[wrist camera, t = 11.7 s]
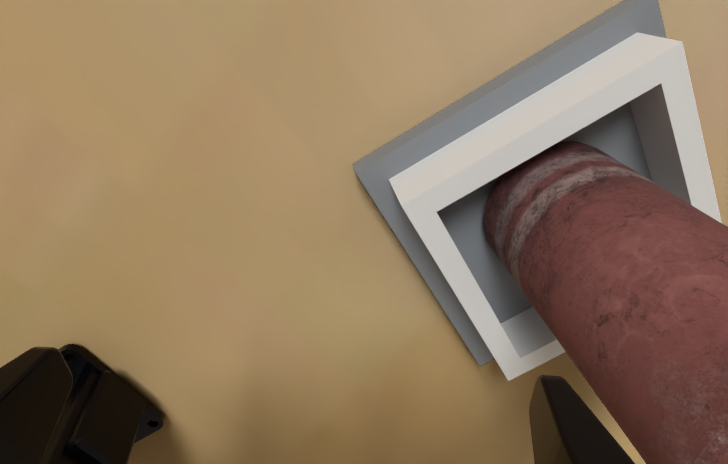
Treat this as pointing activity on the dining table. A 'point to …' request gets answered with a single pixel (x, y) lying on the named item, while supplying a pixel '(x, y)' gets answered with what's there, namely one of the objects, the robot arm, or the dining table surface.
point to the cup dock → (523, 141)
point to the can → (624, 293)
